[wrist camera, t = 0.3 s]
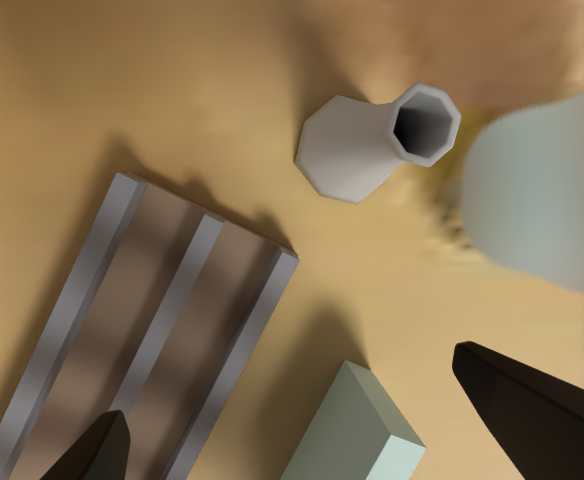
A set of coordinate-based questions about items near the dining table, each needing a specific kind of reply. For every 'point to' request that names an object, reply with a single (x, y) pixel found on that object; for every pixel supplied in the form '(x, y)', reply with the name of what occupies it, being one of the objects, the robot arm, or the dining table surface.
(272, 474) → the dining table surface
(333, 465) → the door panel
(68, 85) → the dining table surface
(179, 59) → the dining table surface
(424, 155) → the flask
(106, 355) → the track base
